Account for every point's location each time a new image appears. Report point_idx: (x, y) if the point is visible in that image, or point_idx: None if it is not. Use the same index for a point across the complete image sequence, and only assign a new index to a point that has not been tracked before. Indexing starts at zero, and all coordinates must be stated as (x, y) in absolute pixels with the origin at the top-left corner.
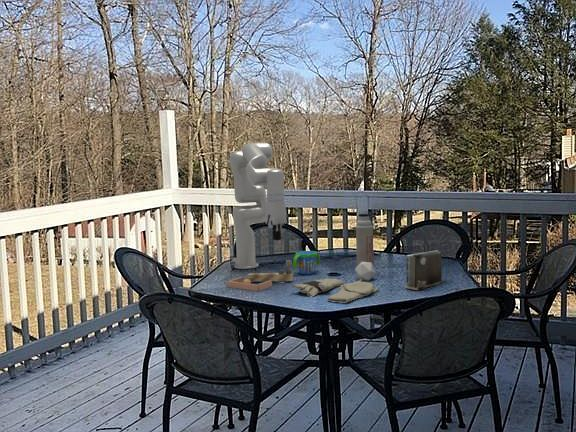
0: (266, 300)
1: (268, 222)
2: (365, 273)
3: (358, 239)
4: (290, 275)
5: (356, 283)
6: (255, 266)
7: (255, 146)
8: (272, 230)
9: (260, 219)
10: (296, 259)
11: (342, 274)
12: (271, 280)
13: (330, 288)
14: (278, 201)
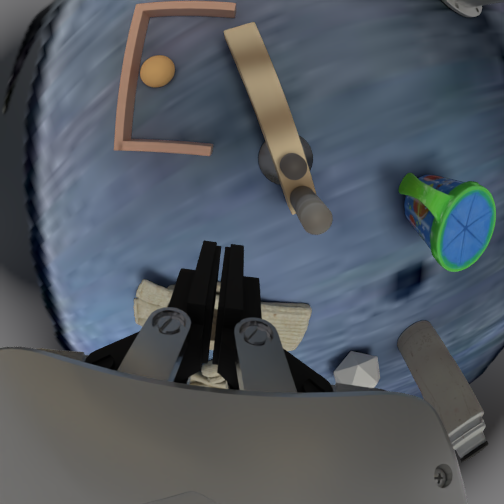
0: (61, 234)
1: (62, 388)
2: (336, 381)
3: (441, 401)
4: (289, 206)
5: None
6: (452, 7)
7: None
8: (155, 319)
9: None
10: (420, 201)
11: (406, 300)
12: (206, 155)
13: None
14: None
